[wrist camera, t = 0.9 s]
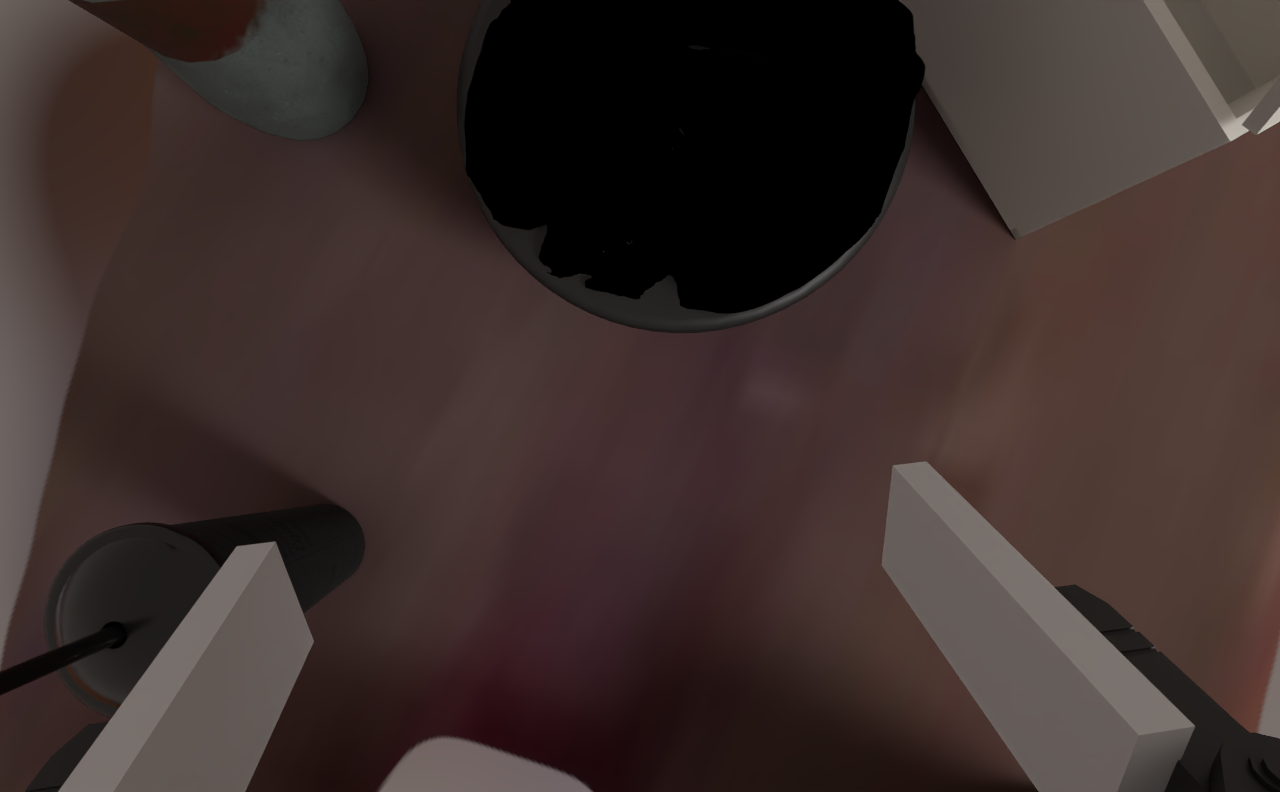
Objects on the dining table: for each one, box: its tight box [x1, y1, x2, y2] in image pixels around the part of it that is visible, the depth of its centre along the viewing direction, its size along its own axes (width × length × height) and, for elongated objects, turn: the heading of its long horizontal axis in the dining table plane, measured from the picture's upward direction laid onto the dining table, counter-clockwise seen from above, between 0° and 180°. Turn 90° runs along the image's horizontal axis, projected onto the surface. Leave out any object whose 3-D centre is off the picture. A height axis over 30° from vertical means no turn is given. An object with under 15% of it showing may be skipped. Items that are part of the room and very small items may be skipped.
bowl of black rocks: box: [457, 0, 926, 333], centre depth 28 cm, size 20×20×19 cm
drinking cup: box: [0, 504, 365, 718], centre depth 28 cm, size 8×8×20 cm
